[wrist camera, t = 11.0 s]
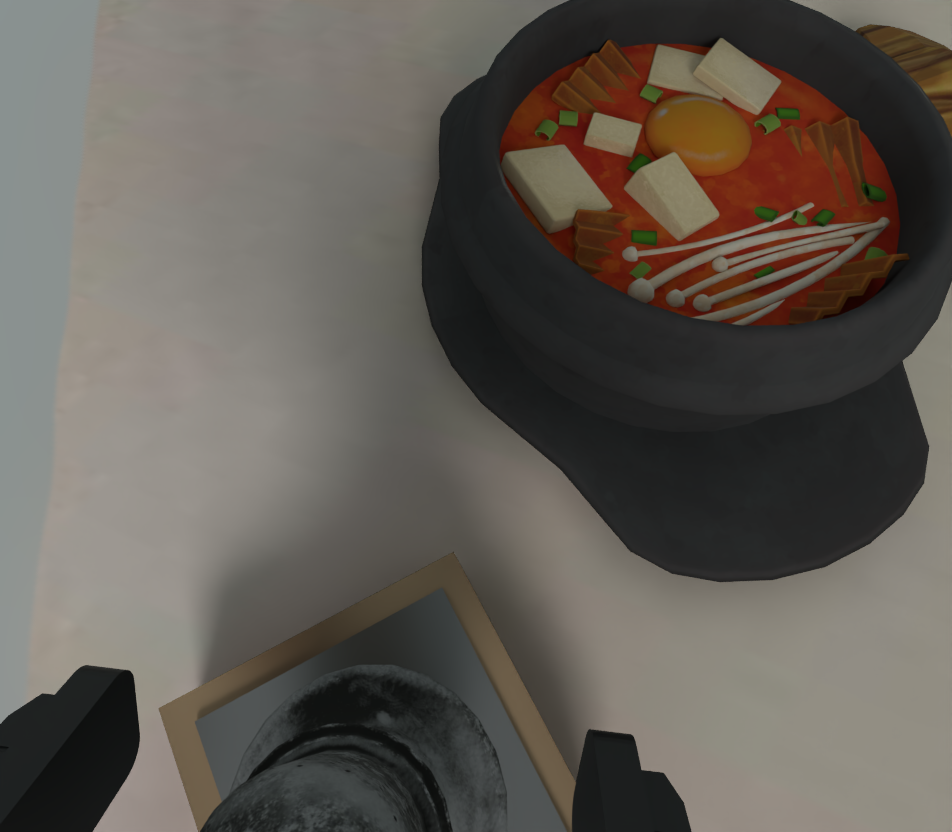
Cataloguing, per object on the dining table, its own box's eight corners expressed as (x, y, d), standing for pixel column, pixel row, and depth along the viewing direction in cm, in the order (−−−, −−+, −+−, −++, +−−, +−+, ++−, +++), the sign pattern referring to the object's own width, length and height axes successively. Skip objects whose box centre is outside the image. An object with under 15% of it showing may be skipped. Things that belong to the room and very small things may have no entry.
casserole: (1013, 496, 24) (1270, 399, 17) (548, 670, 21) (601, 647, 14) (706, 53, 34) (780, -140, 26) (353, 130, 31) (320, -62, 23)
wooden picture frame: (453, 571, 22) (453, 550, 20) (595, 842, 19) (620, 866, 16) (197, 708, 20) (155, 708, 18) (310, 1036, 17) (282, 1101, 14)
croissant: (782, 63, 34) (834, -38, 29) (904, 53, 34) (974, -47, 30) (890, 279, 28) (975, 196, 24) (1032, 262, 29) (1141, 179, 24)
